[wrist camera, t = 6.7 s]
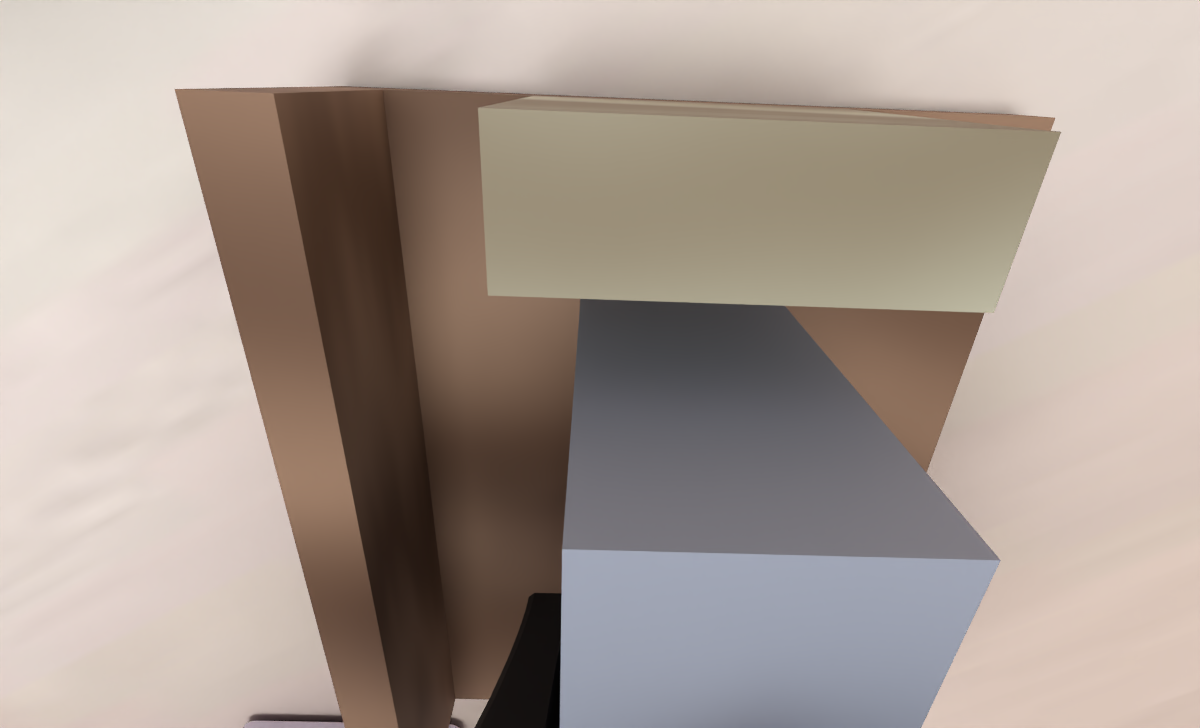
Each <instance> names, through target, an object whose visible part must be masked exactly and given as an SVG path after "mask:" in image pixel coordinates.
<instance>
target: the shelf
mask: <svg viewBox="0 0 1200 728" xmlns="http://www.w3.org/2000/svg"><path fill="white" fill-rule="evenodd" d="M175 92H176V96H177V99H178V103H179V107H180V111H181V114H182V118H183V122H184V126H185V129H186V133H187V137H188V141H189V145H190V148H191V152H192V156H193V160H194V163H195V167H196V171H197V175H198V178H199V182H200V186H201V190H202V193H203V197H204V201H205V205H206V208H207V212H208V216H209V220H210V223H211V227H212V231H213V235H214V238H215V242H216V246H217V250H218V253H219V257H220V261H221V265H222V268H223V272H224V276H225V280H226V284H227V287H228V291H229V295H230V299H231V302H232V306H233V310H234V314H235V317H236V321H237V325H238V329H239V332H240V336H241V340H242V344H243V347H244V351H245V355H246V359H247V362H248V366H249V370H250V374H251V377H252V381H253V385H254V389H255V392H256V396H257V400H258V404H259V408H260V411H261V415H262V419H263V423H264V426H265V430H266V434H267V438H268V441H269V445H270V449H271V453H272V456H273V460H274V464H275V468H276V471H277V475H278V479H279V483H280V486H281V490H282V494H283V498H284V501H285V505H286V509H287V513H288V516H289V520H290V524H291V528H292V532H293V535H294V539H295V543H296V547H297V550H298V554H299V558H300V562H301V565H302V569H303V573H304V577H305V580H306V584H307V588H308V592H309V595H310V599H311V603H312V607H313V610H314V614H315V618H316V622H317V625H318V629H319V633H320V637H321V640H322V644H323V648H324V652H325V655H326V659H327V663H328V667H329V671H330V674H331V678H332V682H333V686H334V689H335V693H336V697H337V701H338V704H339V708H340V712H341V716H342V719H343V723H344V727H345V728H449V724H450V719H451V715H452V711H453V706H454V702H455V699H490V697H491V694H492V692H493V690H494V688H495V686H496V683H497V681H498V679H499V677H500V675H501V672H502V670H503V668H504V666H505V664H506V661H507V659H508V657H509V654H510V652H511V649H512V647H513V644H514V642H515V639H516V636H517V634H518V631H519V628H520V625H521V623H522V619H523V616H524V613H525V610H526V606H527V602H528V598H529V596H531V595H532V594H533V593H562V544H563V531H564V517H565V503H566V490H567V476H568V462H569V449H570V435H571V421H572V407H573V394H574V380H575V366H576V353H577V339H578V325H579V312H580V299H602V300H631V301H661V302H690V303H719V304H748V305H777V306H785V307H786V308H787V309H788V310H789V311H790V313H791V314H792V315H793V316H794V317H795V319H796V320H797V321H798V322H799V323H800V324H801V326H802V327H803V328H804V329H805V330H806V332H807V333H808V334H809V335H810V336H811V337H812V339H813V340H814V341H815V342H816V343H817V344H818V346H819V347H820V348H821V349H822V350H823V352H824V353H825V354H826V355H827V356H828V357H829V359H830V360H831V361H832V362H833V363H834V365H835V366H836V367H837V368H838V369H839V370H840V372H841V373H842V374H843V375H844V376H845V378H846V379H847V380H848V381H849V382H850V383H851V385H852V386H853V387H854V388H855V389H856V391H857V392H858V393H859V394H860V395H861V396H862V398H863V399H864V400H865V401H866V402H867V403H868V405H869V406H870V407H871V408H872V409H873V411H874V412H875V413H876V414H877V415H878V416H879V418H880V419H881V420H882V421H883V422H884V424H885V425H886V426H887V427H888V428H889V429H890V431H891V432H892V433H893V434H894V435H895V437H896V438H897V439H898V440H899V441H900V442H901V444H902V445H903V446H904V447H905V448H906V449H907V451H908V452H909V453H910V454H911V455H912V457H913V458H914V459H915V460H916V461H917V462H918V464H919V465H920V466H921V467H922V468H923V470H924V471H925V472H927V469H928V467H929V464H930V461H931V458H932V456H933V453H934V450H935V447H936V445H937V442H938V439H939V436H940V434H941V431H942V428H943V425H944V423H945V420H946V417H947V414H948V412H949V409H950V406H951V403H952V401H953V398H954V395H955V392H956V390H957V387H958V384H959V381H960V379H961V376H962V373H963V370H964V368H965V365H966V362H967V359H968V357H969V354H970V351H971V348H972V346H973V343H974V340H975V337H976V335H977V332H978V329H979V326H980V324H981V321H982V318H983V315H984V313H994V311H995V308H996V305H997V303H998V300H999V297H1000V295H1001V292H1002V289H1003V287H1004V284H1005V281H1006V278H1007V276H1008V273H1009V270H1010V268H1011V265H1012V262H1013V260H1014V257H1015V254H1016V252H1017V249H1018V246H1019V244H1020V241H1021V238H1022V235H1023V233H1024V230H1025V227H1026V225H1027V222H1028V219H1029V217H1030V214H1031V211H1032V209H1033V206H1034V203H1035V200H1036V198H1037V195H1038V192H1039V190H1040V187H1041V184H1042V182H1043V179H1044V176H1045V174H1046V171H1047V168H1048V165H1049V163H1050V160H1051V157H1052V155H1053V152H1054V149H1055V147H1056V144H1057V141H1058V139H1059V136H1060V133H1061V132H1056V131H1051V128H1052V126H1053V123H1054V120H1055V118H1051V117H1038V116H1025V115H1011V114H987V113H963V112H940V111H916V110H892V109H869V108H845V107H821V106H797V105H774V104H750V103H726V102H703V101H679V100H655V99H632V98H608V97H584V96H561V95H537V94H513V93H489V92H466V91H442V90H418V89H395V88H371V87H347V86H334V87H277V88H219V89H175Z"/></svg>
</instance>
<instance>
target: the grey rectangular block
mask: <svg viewBox="0 0 1200 728" xmlns="http://www.w3.org/2000/svg"><path fill="white" fill-rule="evenodd" d="M999 562H1000V559H999V558H998V557H997V556H996V554H995V553H994V552H993V551H992V550H991V549H990V547H989V546H988V545H987V544H986V543H985V541H984V540H983V539H982V538H981V537H980V536H979V534H978V533H977V532H976V531H975V530H974V529H973V527H972V526H971V525H970V524H969V523H968V521H967V520H966V519H965V518H964V517H963V516H962V514H961V513H960V512H959V511H958V510H957V508H956V507H955V506H954V505H953V504H952V503H951V501H950V500H949V499H948V498H947V497H946V495H945V494H944V493H943V492H942V491H941V490H940V488H939V487H938V486H937V485H936V484H935V483H934V481H933V480H932V479H931V478H930V477H929V475H928V474H927V473H926V472H925V471H924V470H923V468H922V467H921V466H920V465H919V464H918V462H917V461H916V460H915V459H914V458H913V457H912V455H911V454H910V453H909V452H908V451H907V449H906V448H905V447H904V446H903V445H902V444H901V442H900V441H899V440H898V439H897V438H896V437H895V435H894V434H893V433H892V432H891V431H890V429H889V428H888V427H887V426H886V425H885V424H884V422H883V421H882V420H881V419H880V418H879V416H878V415H877V414H876V413H875V412H874V411H873V409H872V408H871V407H870V406H869V405H868V403H867V402H866V401H865V400H864V399H863V398H862V396H861V395H860V394H859V393H858V392H857V391H856V389H855V388H854V387H853V386H852V385H851V383H850V382H849V381H848V380H847V379H846V378H845V376H844V375H843V374H842V373H841V372H840V370H839V369H838V368H837V367H836V366H835V365H834V363H833V362H832V361H831V360H830V359H829V357H828V356H827V355H826V354H825V353H824V352H823V350H822V349H821V348H820V347H819V346H818V344H817V343H816V342H815V341H814V340H813V339H812V337H811V336H810V335H809V334H808V333H807V332H806V330H805V329H804V328H803V327H802V326H801V324H800V323H799V322H798V321H797V320H796V319H795V317H794V316H793V315H792V314H791V313H790V311H789V310H788V309H787V308H786V307H785V306H777V305H748V304H719V303H690V302H661V301H631V300H602V299H580V312H579V325H578V339H577V353H576V366H575V380H574V394H573V407H572V421H571V435H570V449H569V462H568V476H567V490H566V503H565V517H564V531H563V544H562V597H561V670H560V728H921V727H922V724H923V722H924V720H925V718H926V716H927V714H928V712H929V710H930V708H931V705H932V703H933V701H934V699H935V697H936V695H937V693H938V691H939V689H940V687H941V684H942V682H943V680H944V678H945V676H946V674H947V672H948V670H949V668H950V666H951V663H952V661H953V659H954V657H955V655H956V653H957V651H958V649H959V647H960V644H961V642H962V640H963V638H964V636H965V634H966V632H967V630H968V628H969V626H970V623H971V621H972V619H973V617H974V615H975V613H976V611H977V609H978V607H979V605H980V602H981V600H982V598H983V596H984V594H985V592H986V590H987V588H988V586H989V584H990V581H991V579H992V577H993V575H994V573H995V571H996V569H997V567H998V565H999Z"/></svg>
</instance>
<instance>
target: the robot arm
mask: <svg viewBox="0 0 1200 728" xmlns="http://www.w3.org/2000/svg"><path fill="white" fill-rule="evenodd" d="M561 597H562V593H533V594H532V595H531V596H529V598H528V602H527V606H526V610H525V613H524V616H523V619H522V623H521V625H520V628H519V631H518V634H517V636H516V639H515V642H514V644H513V647H512V649H511V652H510V654H509V657H508V659H507V661H506V664H505V666H504V668H503V670H502V672H501V675H500V677H499V679H498V681H497V683H496V686H495V688H494V690H493V692H492V694H491V697H490V699H489V701H488V703H487V705H486V707H485V709H484V711H483V713H482V715H481V716H480V718H479V720H478V722H477V724H476V726H475V728H560V670H561ZM243 728H345V727H344V723H343V722H303V721H250V722H248V723H246V724H245V725H244V727H243ZM449 728H459V727H457V726H455V725H451V724H449Z"/></svg>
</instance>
